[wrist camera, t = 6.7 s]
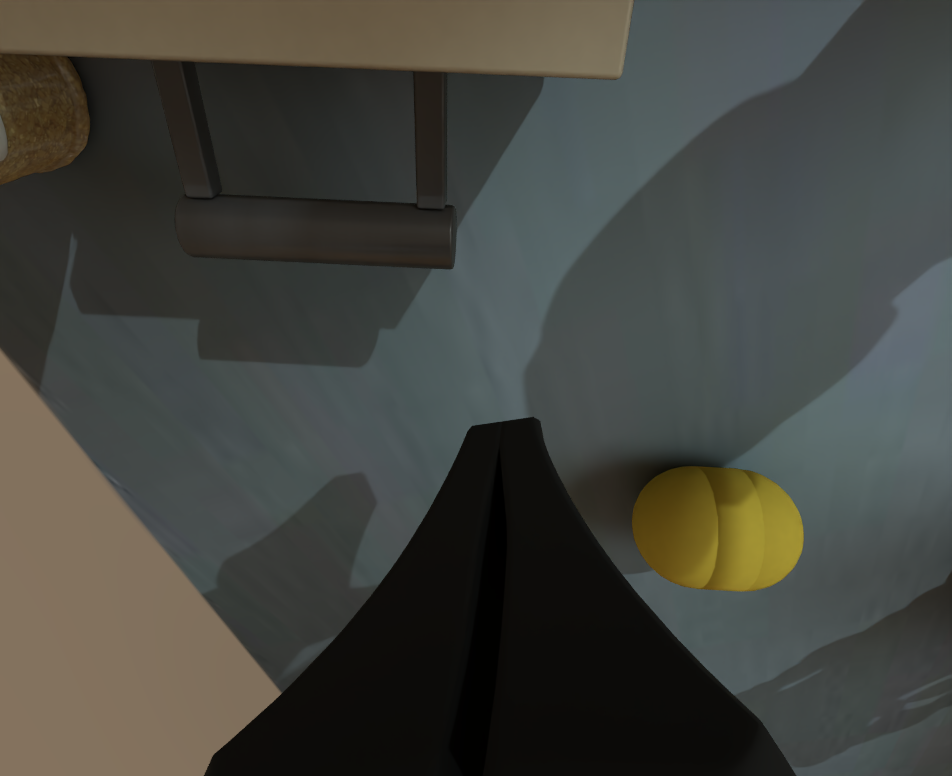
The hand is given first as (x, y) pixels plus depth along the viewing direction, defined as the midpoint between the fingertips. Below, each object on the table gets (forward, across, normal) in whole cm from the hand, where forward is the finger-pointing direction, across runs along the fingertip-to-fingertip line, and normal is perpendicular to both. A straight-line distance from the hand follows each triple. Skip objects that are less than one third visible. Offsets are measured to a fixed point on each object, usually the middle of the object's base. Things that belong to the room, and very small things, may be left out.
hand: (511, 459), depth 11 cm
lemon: (+9, -6, +11) cm, 15 cm away
